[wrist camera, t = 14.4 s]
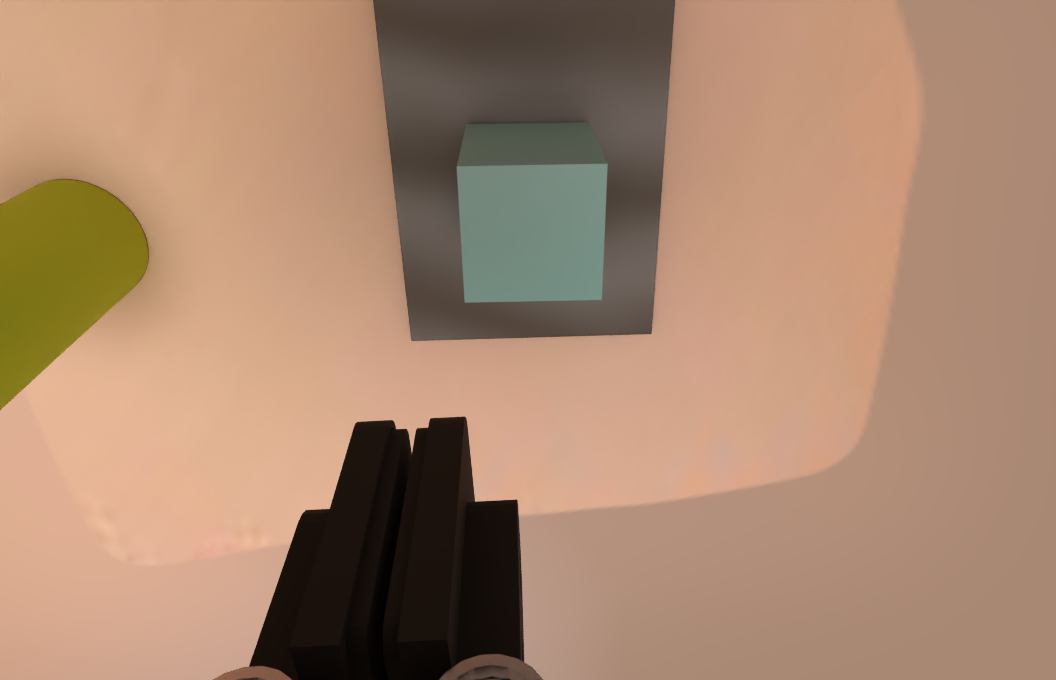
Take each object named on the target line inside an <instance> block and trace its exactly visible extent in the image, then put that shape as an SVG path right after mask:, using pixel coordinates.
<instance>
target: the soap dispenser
mask: <svg viewBox="0 0 1056 680" xmlns="http://www.w3.org/2000/svg"><path fill="white" fill-rule="evenodd" d="M147 263H148V246H147V241H146V238H145V235H144V232H143V230H142V228H141V226H140V224H139V223H138V221H137V219H136V218H135V217H134V215H133V214H132V213H131V212H130V210H129V209H128V208H127V207H126V206H125V205H124V204H123V203H122V202H120V201H119V200H118V199H117V198H115V197H114V196H113V195H111V194H110V193H108V192H106V191H105V190H103V189H101V188H99V187H96V186H94V185H91V184H89V183H85V182H81V181H76V180H67V179H60V180H52V181H47V182H44V183H42V184H39V185H37V186H35V187H33V188H31V189H29V190H27V191H25V192H24V193H22V194H20V195H18V196H16V197H14V198H12V199H10V200H8V201H6V202H4V203H2V204H0V410H1V409H2V408H3V407H4V406H5V405H6V404H7V403H8V402H9V401H11V400H12V399H13V398H14V397H15V396H16V395H17V394H18V393H19V392H20V391H21V390H23V389H24V388H25V387H26V386H27V385H28V384H29V383H30V382H31V381H32V380H33V379H35V378H36V377H37V376H38V375H39V374H40V373H41V372H42V371H43V370H44V369H45V368H46V367H48V366H49V365H50V364H51V363H52V362H53V361H54V360H55V359H56V358H57V357H58V356H59V355H61V354H62V353H63V352H64V351H65V350H66V349H67V348H68V347H69V346H70V345H71V344H73V343H74V342H75V341H76V340H77V339H78V338H79V337H80V336H81V335H82V334H83V333H84V332H86V331H87V330H88V329H89V328H90V327H91V326H92V325H93V324H94V323H95V322H96V321H98V320H99V319H100V318H101V317H102V316H103V315H104V314H105V313H106V312H107V311H108V310H109V309H111V308H112V307H113V306H114V305H115V304H116V303H117V302H118V301H119V300H120V299H121V298H123V297H124V296H125V295H126V294H127V293H128V292H129V291H130V290H131V289H132V288H133V287H134V286H136V285H137V283H138V282H139V281H140V280H141V278H142V277H143V275H144V273H145V270H146V267H147Z"/></svg>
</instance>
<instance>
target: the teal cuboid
mask: <svg viewBox="0 0 1056 680" xmlns="http://www.w3.org/2000/svg"><path fill="white" fill-rule="evenodd" d="M607 167H608V163H607V161H606V159H605V157H604V155H603V152H602V150H601V148H600V146H599V143H598V141H597V139H596V137H595V135H594V132H593V130H592V128H591V126H590V124H589V122H566V123H506V124H466V128H465V132H464V137H463V141H462V145H461V150H460V154H459V158H458V163H457V181H458V198H459V214H460V231H461V248H462V265H463V282H464V299H465V303H473V302H521V301H570V300H602V285H603V261H604V237H605V214H606V190H607Z"/></svg>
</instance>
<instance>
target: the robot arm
mask: <svg viewBox="0 0 1056 680" xmlns="http://www.w3.org/2000/svg"><path fill="white" fill-rule="evenodd" d="M213 680H543V679H542V678H541V677H540V675H539V674H538V673H537V672H536V671H535V670H534V669H533V668H532V667H531V666H529V665H527V664H526V663H524V639H523V606H522V574H521V551H520V533H519V515H518V501H517V500H502V501H482V502H475V497H474V487H473V477H472V467H471V457H470V447H469V437H468V427H467V420H466V417H449V418H431V419H430V422H429V427H428V428H417V430H416V434H415V440H414V446H413V452H412V453H411V446H410V440H409V434H408V431H407V429H396V427H395V423H394V421H392V420H387V421H367V422H357V423H356V424H355V426H354V429H353V433H352V436H351V439H350V443H349V446H348V449H347V453H346V456H345V460H344V463H343V466H342V470H341V473H340V477H339V480H338V483H337V487H336V490H335V493H334V497H333V500H332V504H331V507H330V509H321V510H306V511H305V512H304V513H303V514H302V516H301V518H300V520H299V522H298V525H297V528H296V531H295V534H294V537H293V540H292V542H291V545H290V548H289V551H288V554H287V557H286V560H285V563H284V566H283V569H282V572H281V575H280V578H279V581H278V584H277V586H276V589H275V593H274V595H273V598H272V601H271V604H270V607H269V610H268V613H267V616H266V619H265V621H264V624H263V627H262V630H261V633H260V636H259V639H258V642H257V645H256V648H255V651H254V654H253V657H252V660H251V663H250V665H249V667H243V668H239V669H236V670H233V671H230V672H227V673H224V674H222V675H221V676H219V677H217V678H215V679H213Z"/></svg>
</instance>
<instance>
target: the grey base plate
mask: <svg viewBox="0 0 1056 680" xmlns="http://www.w3.org/2000/svg"><path fill="white" fill-rule="evenodd" d="M373 2H374V11H375V20H376V29H377V38H378V47H379V56H380V65H381V73H382V82H383V91H384V100H385V109H386V118H387V127H388V136H389V145H390V154H391V163H392V172H393V181H394V190H395V199H396V207H397V216H398V225H399V234H400V243H401V252H402V261H403V270H404V279H405V288H406V297H407V306H408V315H409V324H410V332H411V341H427V340H460V339H494V338H528V337H562V336H596V335H630V334H651V333H652V319H653V305H654V291H655V277H656V263H657V248H658V234H659V220H660V206H661V192H662V177H663V163H664V149H665V135H666V121H667V106H668V92H669V78H670V64H671V50H672V35H673V21H674V7H675V0H373ZM566 122H589V124H590V126H591V128H592V130H593V132H594V135H595V137H596V139H597V141H598V143H599V146H600V148H601V150H602V152H603V155H604V157H605V159H606V161H607V163H608V167H607V190H606V214H605V237H604V261H603V285H602V300H570V301H521V302H473V303H465V299H464V282H463V265H462V248H461V231H460V214H459V198H458V181H457V163H458V158H459V154H460V150H461V145H462V141H463V137H464V132H465V128H466V124H506V123H566Z"/></svg>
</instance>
